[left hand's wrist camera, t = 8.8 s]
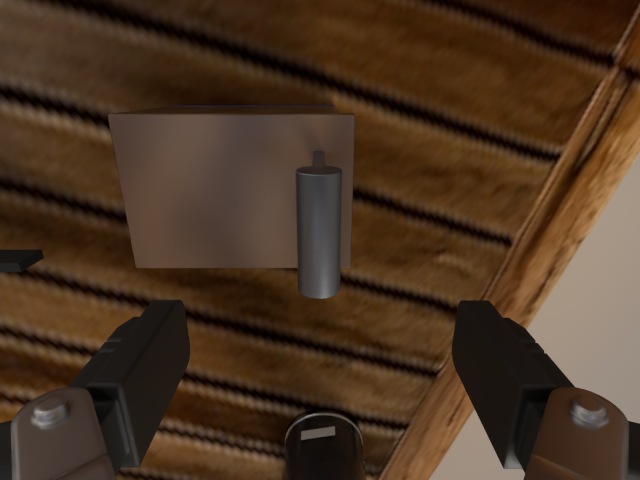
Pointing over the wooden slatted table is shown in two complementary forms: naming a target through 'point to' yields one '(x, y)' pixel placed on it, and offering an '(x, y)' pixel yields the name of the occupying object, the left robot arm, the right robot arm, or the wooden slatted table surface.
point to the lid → (239, 191)
